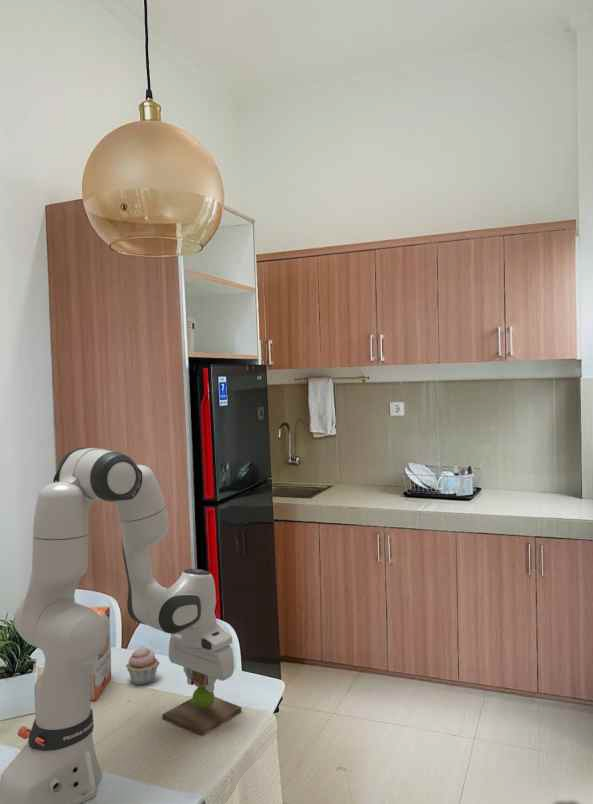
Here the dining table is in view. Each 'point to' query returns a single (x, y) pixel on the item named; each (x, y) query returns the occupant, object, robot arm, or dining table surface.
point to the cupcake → (142, 666)
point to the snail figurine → (201, 691)
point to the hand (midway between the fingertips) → (200, 687)
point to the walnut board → (201, 715)
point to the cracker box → (101, 659)
